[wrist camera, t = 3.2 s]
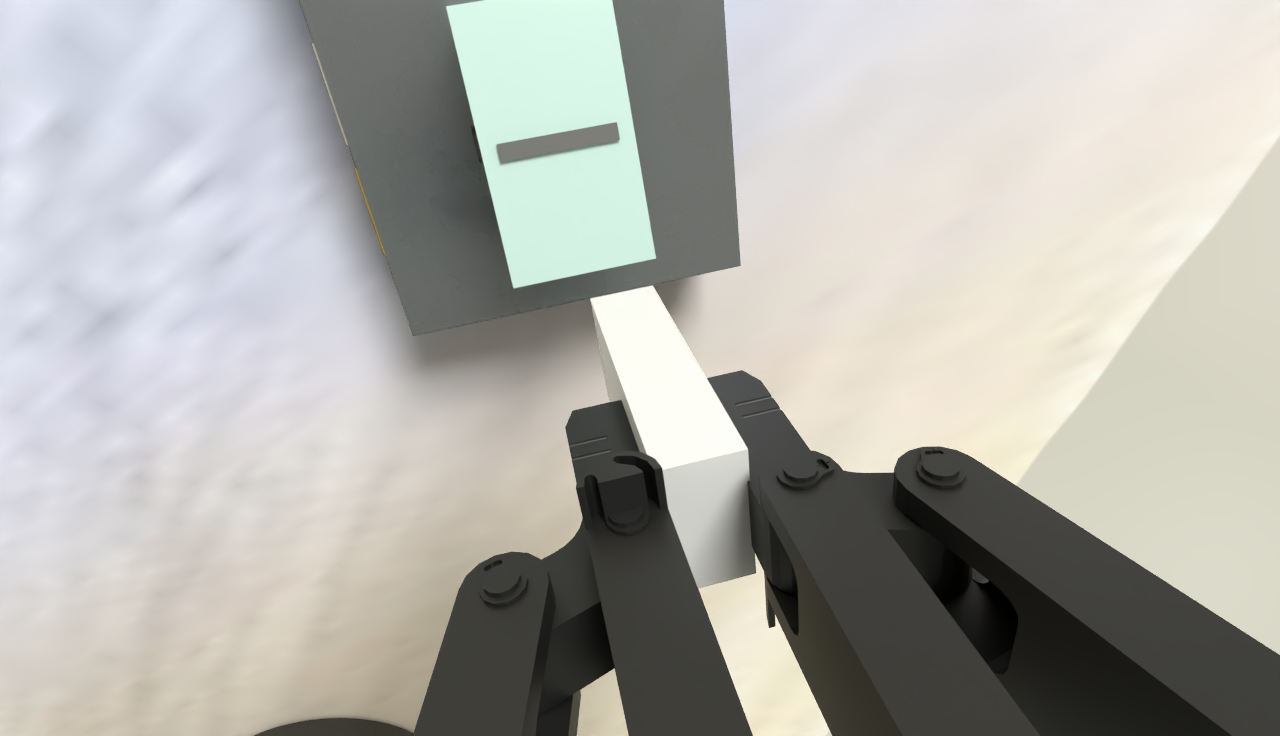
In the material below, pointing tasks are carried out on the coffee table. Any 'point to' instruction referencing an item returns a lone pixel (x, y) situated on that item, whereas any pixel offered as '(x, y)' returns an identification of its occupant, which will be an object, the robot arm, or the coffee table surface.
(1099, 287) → the coffee table surface
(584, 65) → the switch
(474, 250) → the console
